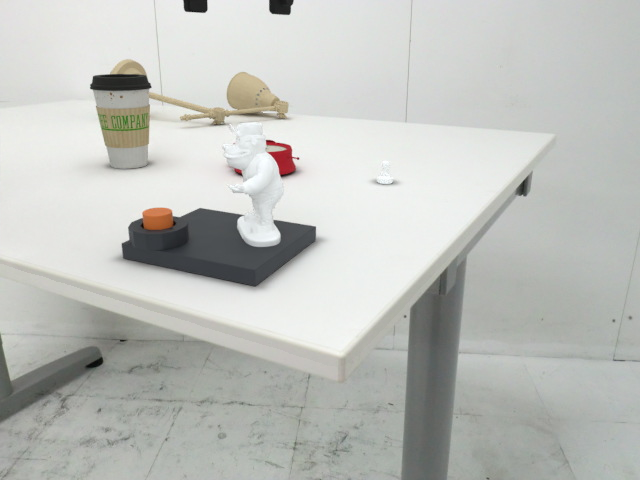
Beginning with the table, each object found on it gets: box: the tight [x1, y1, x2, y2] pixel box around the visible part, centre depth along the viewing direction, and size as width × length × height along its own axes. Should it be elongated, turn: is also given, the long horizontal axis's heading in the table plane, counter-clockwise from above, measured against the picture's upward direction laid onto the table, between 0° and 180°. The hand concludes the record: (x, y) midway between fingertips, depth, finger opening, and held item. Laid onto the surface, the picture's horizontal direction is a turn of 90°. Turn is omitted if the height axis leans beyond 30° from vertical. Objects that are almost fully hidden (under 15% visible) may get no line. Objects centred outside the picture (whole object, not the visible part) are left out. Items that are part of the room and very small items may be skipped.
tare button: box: [141, 207, 174, 230], centre depth 59 cm, size 3×3×2 cm
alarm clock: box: [232, 139, 300, 178], centre depth 98 cm, size 10×6×15 cm
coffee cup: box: [89, 73, 153, 170], centre depth 97 cm, size 10×10×15 cm
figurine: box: [221, 121, 285, 247], centre depth 61 cm, size 9×7×12 cm
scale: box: [121, 207, 317, 287], centre depth 62 cm, size 16×14×4 cm
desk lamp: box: [109, 58, 290, 125], centre depth 150 cm, size 15×35×40 cm
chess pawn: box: [376, 160, 394, 185], centre depth 90 cm, size 3×3×4 cm
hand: (236, 13), depth 56 cm, fingers open, 9 cm apart
